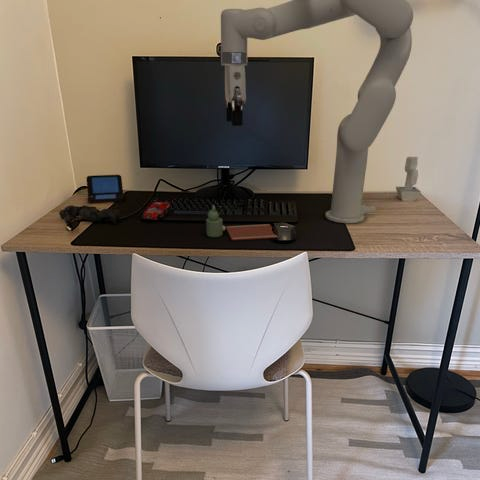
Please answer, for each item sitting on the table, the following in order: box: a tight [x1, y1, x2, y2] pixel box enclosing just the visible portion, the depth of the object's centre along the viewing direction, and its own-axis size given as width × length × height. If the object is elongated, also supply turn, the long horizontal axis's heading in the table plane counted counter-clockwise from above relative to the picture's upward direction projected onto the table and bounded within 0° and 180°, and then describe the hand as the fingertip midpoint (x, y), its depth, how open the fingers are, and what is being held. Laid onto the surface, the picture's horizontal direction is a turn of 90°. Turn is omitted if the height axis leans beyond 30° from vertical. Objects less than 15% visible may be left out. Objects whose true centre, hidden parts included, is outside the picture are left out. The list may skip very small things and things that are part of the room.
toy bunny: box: [205, 204, 227, 238], centre depth 142 cm, size 6×5×9 cm
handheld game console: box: [86, 174, 125, 204], centre depth 176 cm, size 12×11×7 cm
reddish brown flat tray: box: [224, 223, 280, 241], centre depth 146 cm, size 14×12×1 cm
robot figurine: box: [58, 204, 122, 227], centre depth 154 cm, size 18×4×20 cm
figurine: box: [395, 156, 422, 202], centre depth 176 cm, size 7×9×15 cm
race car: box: [142, 201, 171, 221], centre depth 159 cm, size 13×5×4 cm, turn 161°
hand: (234, 123), depth 148 cm, fingers open, 9 cm apart
